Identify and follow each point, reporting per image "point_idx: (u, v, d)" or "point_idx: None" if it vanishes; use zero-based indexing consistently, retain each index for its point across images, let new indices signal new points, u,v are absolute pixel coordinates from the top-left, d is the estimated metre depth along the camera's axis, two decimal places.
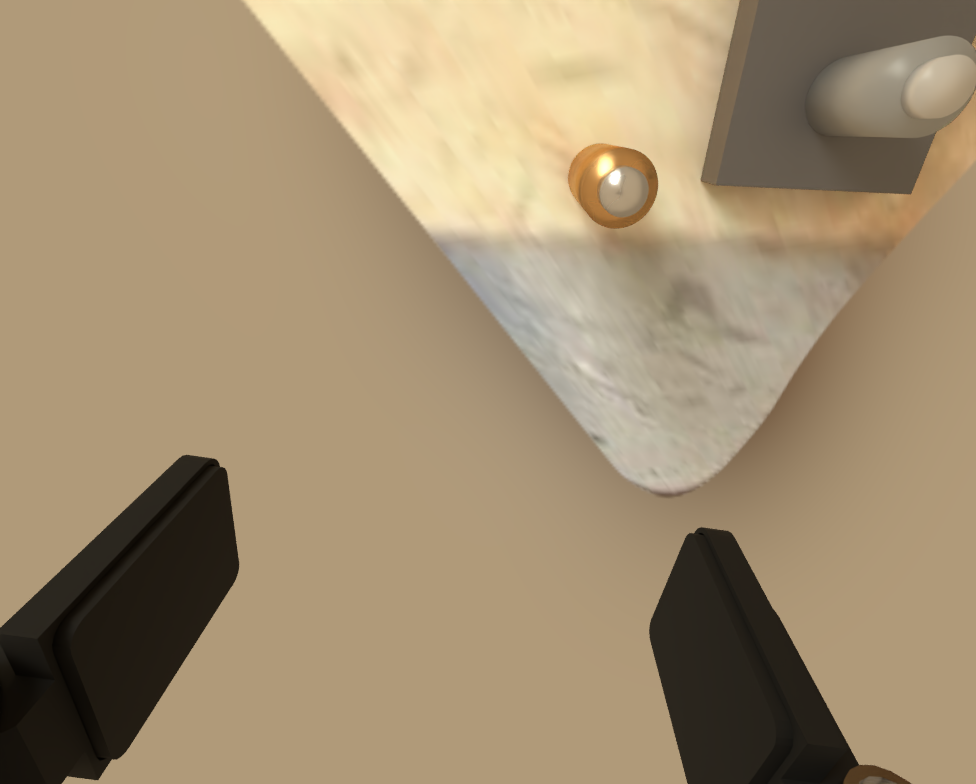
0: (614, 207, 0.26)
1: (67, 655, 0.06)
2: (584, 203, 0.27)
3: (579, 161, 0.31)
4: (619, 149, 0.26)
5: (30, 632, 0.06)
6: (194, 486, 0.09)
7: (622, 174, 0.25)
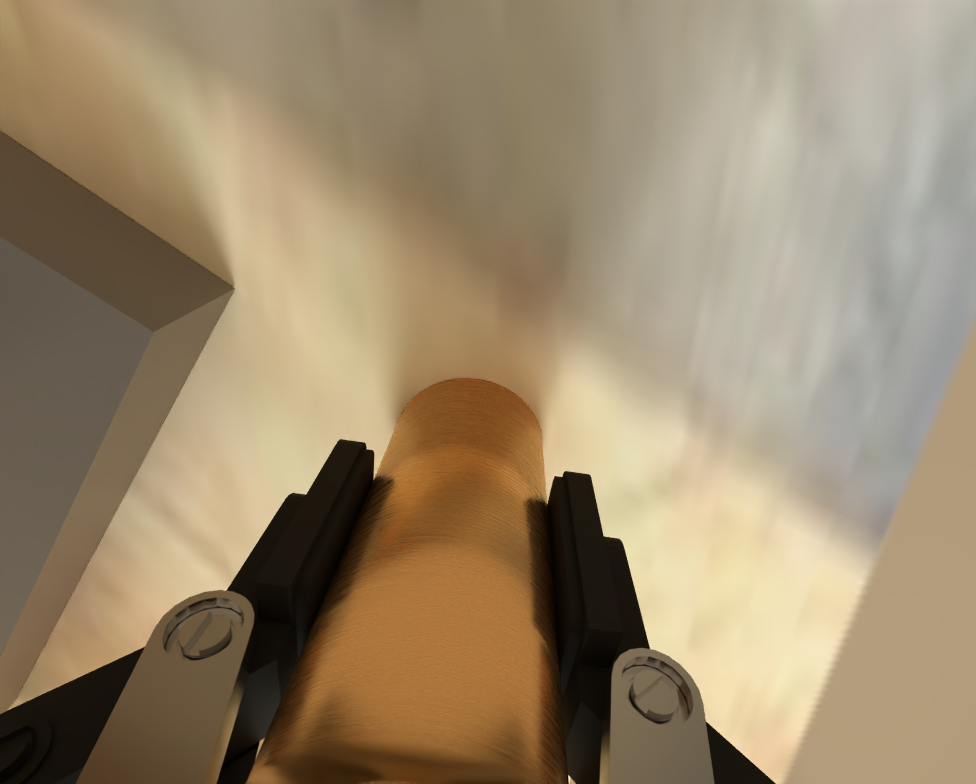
0: None
1: (303, 603, 0.07)
2: None
3: None
4: None
5: (279, 582, 0.07)
6: (358, 466, 0.10)
7: None
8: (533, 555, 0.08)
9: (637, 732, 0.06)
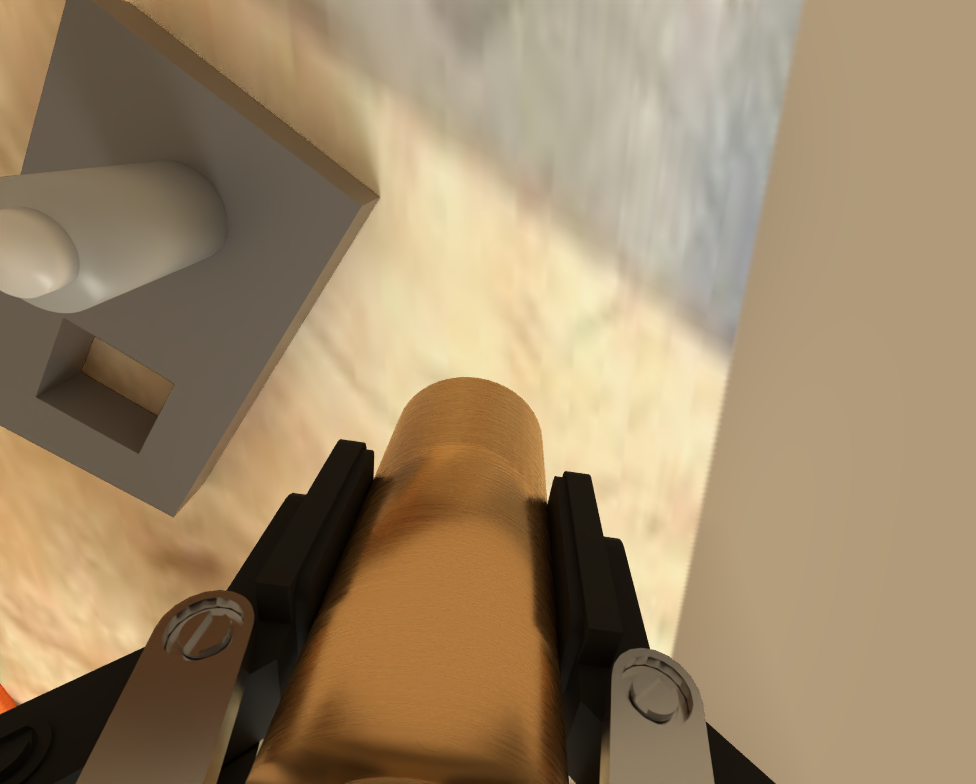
0: None
1: (303, 603, 0.07)
2: None
3: None
4: None
5: (280, 582, 0.07)
6: (358, 466, 0.10)
7: None
8: (533, 554, 0.08)
9: (637, 732, 0.06)
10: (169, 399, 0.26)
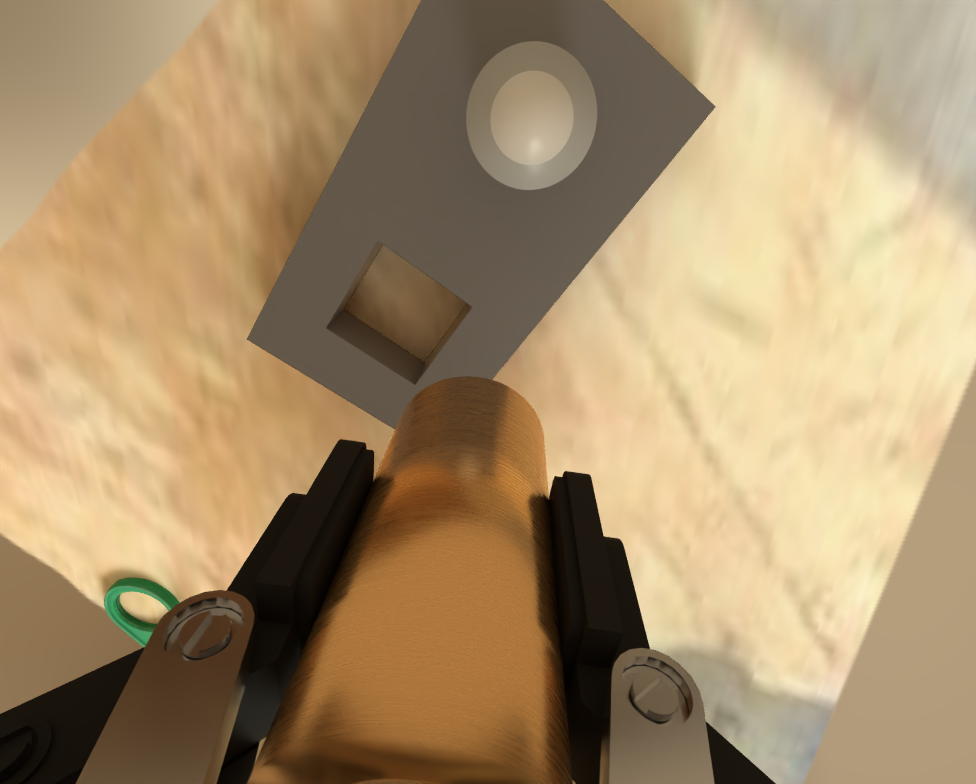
0: None
1: (303, 603, 0.07)
2: None
3: None
4: None
5: (279, 582, 0.07)
6: (358, 466, 0.10)
7: None
8: (536, 553, 0.08)
9: (637, 732, 0.06)
10: (462, 324, 0.26)
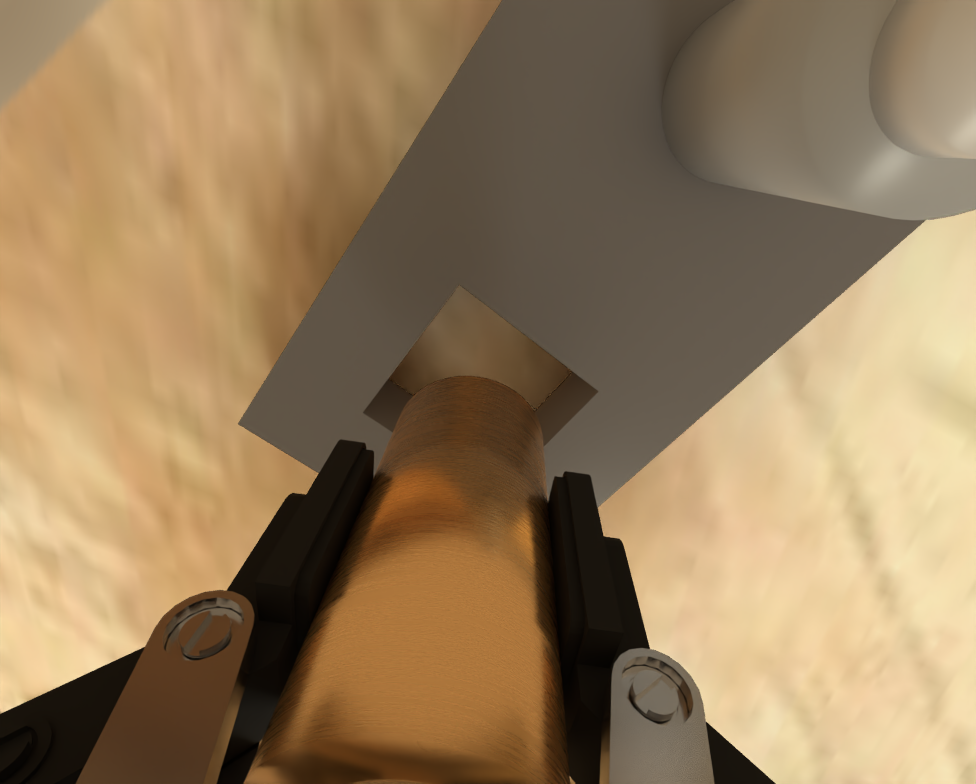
0: None
1: (303, 603, 0.07)
2: None
3: None
4: None
5: (279, 582, 0.07)
6: (357, 466, 0.10)
7: None
8: (534, 553, 0.08)
9: (637, 732, 0.06)
10: (579, 415, 0.17)
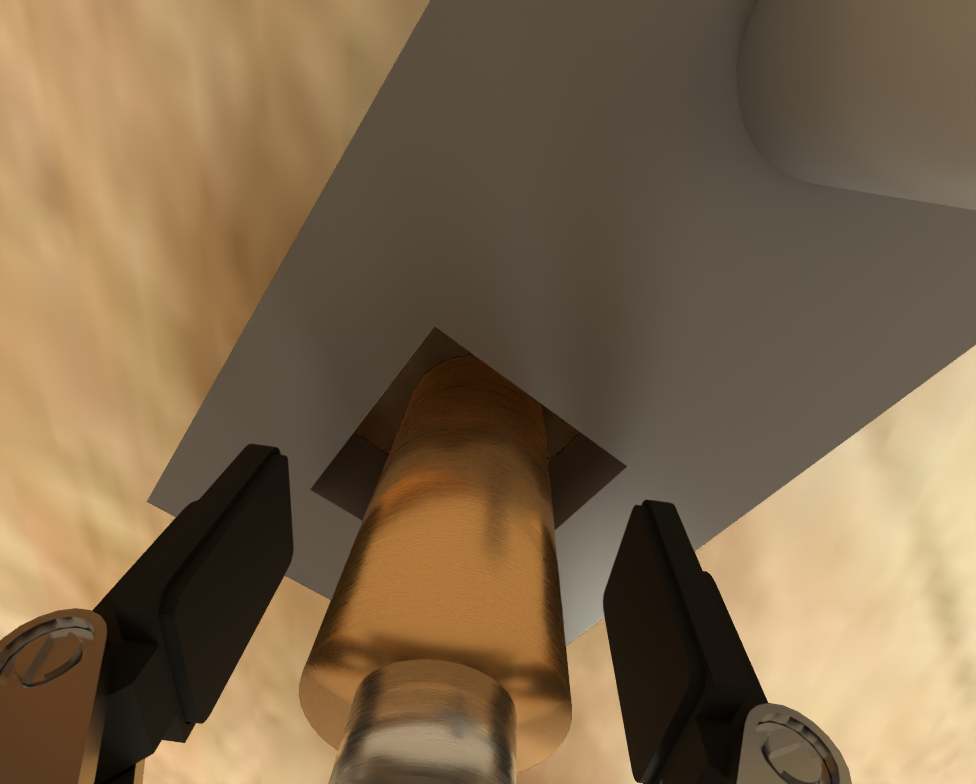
0: None
1: (170, 622, 0.07)
2: (561, 735, 0.07)
3: None
4: None
5: (140, 600, 0.07)
6: (263, 472, 0.09)
7: None
8: (537, 499, 0.10)
9: None
10: (599, 496, 0.12)
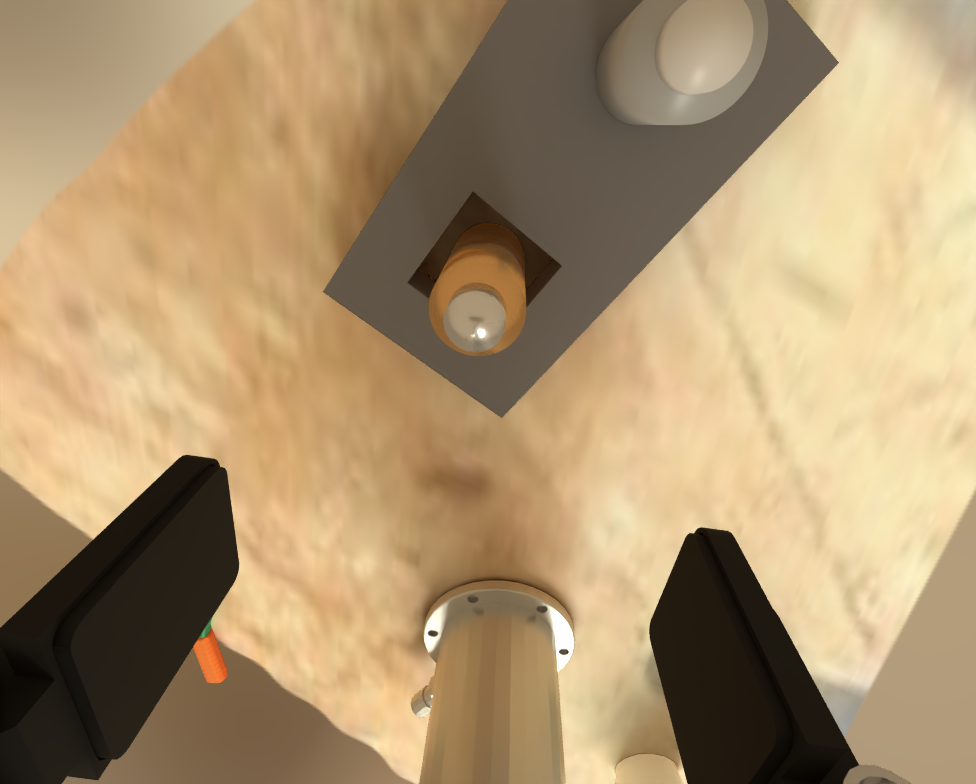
0: (494, 315, 0.19)
1: (67, 655, 0.06)
2: (522, 322, 0.21)
3: None
4: (455, 349, 0.21)
5: (30, 632, 0.06)
6: (194, 486, 0.09)
7: (466, 343, 0.20)
8: (517, 261, 0.23)
9: None
10: (549, 283, 0.25)
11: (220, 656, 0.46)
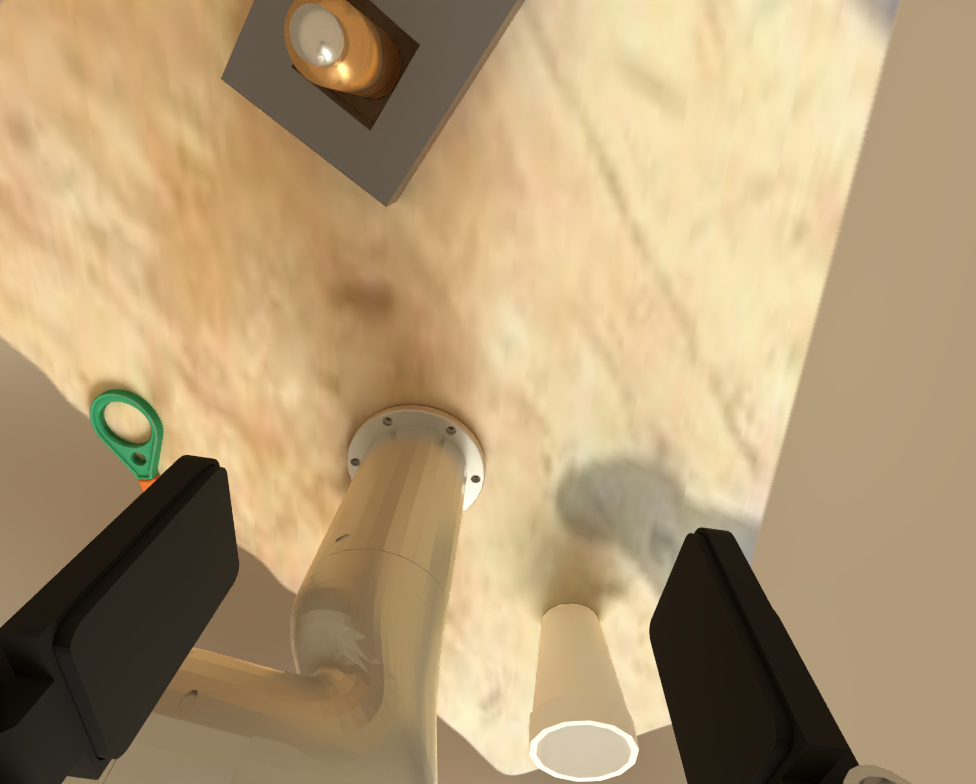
0: (329, 25, 0.23)
1: (67, 655, 0.06)
2: (363, 50, 0.25)
3: (370, 91, 0.30)
4: (312, 81, 0.26)
5: (30, 632, 0.06)
6: (194, 486, 0.09)
7: (310, 56, 0.24)
8: (371, 22, 0.27)
9: None
10: (411, 63, 0.30)
11: None
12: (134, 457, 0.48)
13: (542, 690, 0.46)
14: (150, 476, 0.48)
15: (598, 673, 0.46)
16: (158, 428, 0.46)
